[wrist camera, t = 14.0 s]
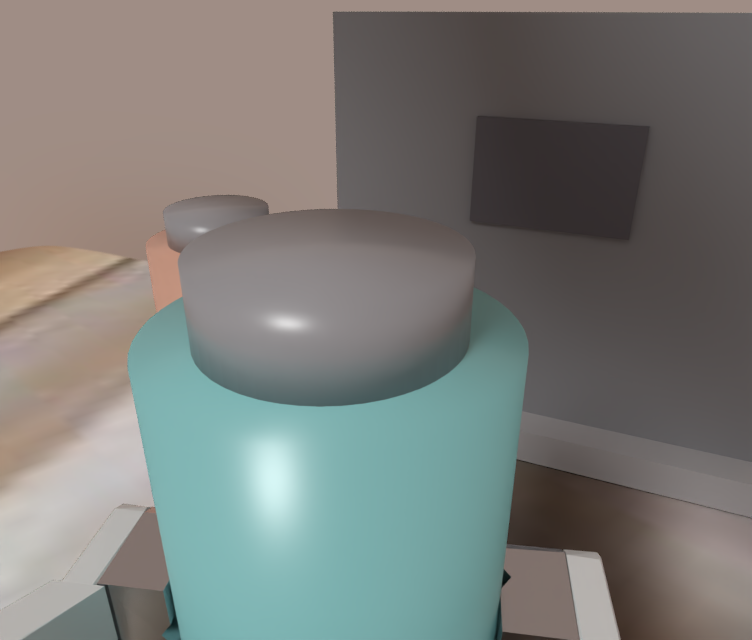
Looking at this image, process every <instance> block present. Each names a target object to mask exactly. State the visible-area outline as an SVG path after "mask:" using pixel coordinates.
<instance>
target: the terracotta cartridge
mask: <svg viewBox="0 0 752 640" xmlns="http://www.w3.org/2000/svg"><path fill="white" fill-rule="evenodd" d="M268 214H269V211H268V204H267V203H266V202H265V201H263V200H260V199H257V198H253V197H248V196H238V195H214V196H203V197H196V198H191V199H186V200H182V201H179V202H176V203H174V204H171V205H169V206H168V207H166V208H165V209H164V211H163V216H164V222H165V230H163V231H161V232H158V233H157V234H155V235H153V236H152V237H151V238H150V239H149V240H148V241H147V243H146V252H147V258H148V264H149V270H150V276H151V282H152V289H153V295H154V301H155V307H156V313H157V312H159V311H160V310H161V309H163V308H164V307H166V306H167V305H169V304H170V303H172V302H173V301H175V300H177V299H179V298H181V297H183V296H182V289H181V283H180V276H179V269H178V258H179V255H180V253H181V252H182V250H183V249H184V248H185V247H186V246H187V245H188V244H189V243H190V242H192V241H193V240H195V239H196V238H197V237H199V236H201V235H203V234H205V233H207V232H209V231H211V230H214V229H216V228H218V227H221V226H224V225H227V224H230V223H233V222H237V221H240V220H244V219H248V218H253V217H257V216H263V215H268Z"/></svg>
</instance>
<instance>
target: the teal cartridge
mask: <svg viewBox="0 0 752 640" xmlns="http://www.w3.org/2000/svg"><path fill="white" fill-rule="evenodd" d="M475 260H476V254H475V249H474V247H473V246H472V244H471V243H470V242H469V241H468V240H467V239H466V238H465V237H464V236H463V235H461V234H460V233H458V232H457V231H455V230H453V229H451V228H449V227H446V226H444V225H441V224H439V223H436V222H433V221H430V220H426V219H423V218H418V217H414V216H410V215H404V214H399V213H392V212H384V211H374V210H360V209H315V210H301V211H290V212H282V213H274V214H268V215H263V216H257V217H253V218H248V219H244V220H240V221H237V222H233V223H230V224H227V225H224V226H221V227H218V228H216V229H214V230H211V231H209V232H207V233H205V234H203V235H201V236H199V237H197V238H196V239H195V240H193V241H192V242H190V243H189V244H188V245H187V246H186V247H185V248H184V249H183V250H182V252H181V253H180V255H179V258H178V269H179V276H180V283H181V289H182V296H183V297H181V298H179V299H177V300H175V301H173V302H172V303H170V304H169V305H167V306H166V307H164V308H163V309H161V310H160V311H159V312H157V313H156V314H155V315H154V316H153V317H151V318H150V319H149V320H148V321H147V322H146V323H145V324H144V325H143V327H142V328H141V329H140V330H139V331H138V333H137V335H136V336H135V338H134V339H133V341H132V344H131V347H130V350H129V353H128V372H129V377H130V382H131V387H132V392H133V397H134V402H135V407H136V413H137V418H138V423H139V428H140V433H141V438H142V443H143V448H144V453H145V458H146V463H147V469H148V474H149V479H150V484H151V489H152V494H153V499H154V504H155V509H156V514H157V519H158V525H159V530H160V535H161V540H162V545H163V550H164V555H165V560H166V565H167V570H168V576H169V581H170V586H171V591H172V596H173V601H174V606H175V611H176V616H177V621H178V626H179V632H180V637H181V640H495V639H496V628H497V620H498V612H499V603H500V595H501V588H502V579H503V571H504V562H505V553H506V545H507V536H508V528H509V519H510V511H511V502H512V493H513V485H514V476H515V468H516V459H517V451H518V442H519V433H520V425H521V416H522V408H523V399H524V390H525V382H526V373H527V365H528V356H529V347H528V340H527V336H526V333H525V330H524V329H523V327H522V325H521V324H520V322H519V320H518V319H517V318H516V317H515V316H514V315H513V313H512V312H511V311H510V310H509V309H508V308H506V307H505V306H504V305H503V304H501V303H500V302H499V301H498V300H496V299H494V298H493V297H491V296H489V295H488V294H486V293H485V292H482V291H480V290H478V289H476V288H474V275H475Z"/></svg>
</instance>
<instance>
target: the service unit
mask: <svg viewBox="0 0 752 640" xmlns="http://www.w3.org/2000/svg"><path fill="white" fill-rule="evenodd" d="M333 29H334V30H333V33H334V72H335V73H334V74H335V113H336V114H335V115H336V154H337V197H338V209H360V210H374V211H384V212H392V213H399V214H404V215H410V216H414V217H418V218H423V219H426V220H430V221H433V222H436V223H439V224H441V225H444V226H446V227H449V228H451V229H453V230H455V231H457V232H458V233H460V234H461V235H463V236H464V237H465V238H466V239H467V240H468V241H469V242H470V243H471V244H472V246H473V247H474V249H475V254H476V260H475V275H474V288H476V289H478V290H480V291H482V292H485V293H486V294H488V295H489V296H491V297H493V298H494V299H496V300H498V301H499V302H500V303H501V304H503V305H504V306H505V307H506V308H508V309H509V310H510V311H511V312H512V313H513V315H514V316H515V317H516V318H517V319H518V320H519V322H520V324H521V325H522V327H523V329H524V330H525V333H526V336H527V340H528V347H529V356H528V365H527V373H526V382H525V390H524V399H523V408H522V416H521V425H520V433H519V442H518V451H517V459H518V460H522V461H526V462H530V463H534V464H538V465H542V466H546V467H550V468H554V469H558V470H562V471H566V472H570V473H574V474H578V475H582V476H586V477H590V478H594V479H598V480H602V481H606V482H610V483H614V484H618V485H622V486H626V487H630V488H634V489H638V490H642V491H646V492H650V493H654V494H658V495H662V496H666V497H670V498H674V499H679V500H683V501H687V502H691V503H695V504H699V505H703V506H707V507H711V508H715V509H719V510H723V511H727V512H731V513H735V514H739V515H743V516H747V517H751V518H752V13H637V12H630V13H627V12H616V13H615V12H603V13H602V12H333Z"/></svg>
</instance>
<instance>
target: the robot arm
mask: <svg viewBox="0 0 752 640" xmlns="http://www.w3.org/2000/svg"><path fill="white" fill-rule="evenodd" d="M0 640H181V637H180V632H179V626H178V621H177V616H176V611H175V606H174V601H173V596H172V591H171V586H170V581H169V576H168V570H167V565H166V560H165V555H164V550H163V545H162V540H161V535H160V530H159V525H158V519H157V514H156V509H155V507H144V506H136V505H129V504H122V505H120V506H119V507H117V508H115V509H114V510H113V512H112V513H111V514H110V516H109V517H108V518H107V520H106V521H105V522H104V524H103V525H102V527H101V528H100V529H99V531H98V532H97V533H96V535H95V536H94V537H93V539H92V540H91V542H90V543H89V544H88V546H87V547H86V548H85V550H84V551H83V552H82V554H81V555H80V557H79V558H78V559H77V561H76V562H75V563H74V565H73V566H72V567H71V569H70V570H69V572H68V573H67V574H66V576H65V577H64V578H63V580H62V581H59V580H52V581H50V582H48V583H47V584H45V585H43V586H41V587H40V588H38V589H36V590H35V591H33V592H31V593H29V594H28V595H26V596H24V597H23V598H21V599H19V600H17V601H16V602H14V603H12V604H10V605H9V606H7V607H5V608H4V609H2V610H0ZM495 640H621V638H620V634H619V630H618V626H617V622H616V617H615V613H614V609H613V605H612V601H611V596H610V592H609V588H608V584H607V580H606V575H605V571H604V567H603V563H602V559H601V557H600V555H599V554H598V553H597V552H588V551H577V550H566V549H564V550H563V551H562V550H561V549H553V548H542V547H532V546H521V545H510V544H507V545H506V553H505V562H504V571H503V579H502V588H501V595H500V603H499V612H498V620H497V628H496V639H495Z"/></svg>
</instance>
